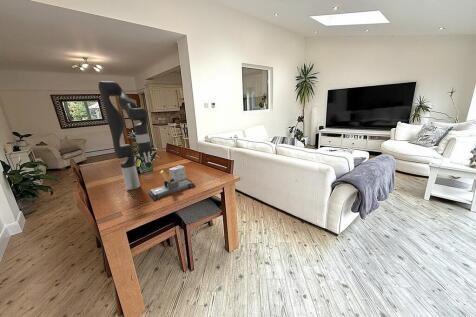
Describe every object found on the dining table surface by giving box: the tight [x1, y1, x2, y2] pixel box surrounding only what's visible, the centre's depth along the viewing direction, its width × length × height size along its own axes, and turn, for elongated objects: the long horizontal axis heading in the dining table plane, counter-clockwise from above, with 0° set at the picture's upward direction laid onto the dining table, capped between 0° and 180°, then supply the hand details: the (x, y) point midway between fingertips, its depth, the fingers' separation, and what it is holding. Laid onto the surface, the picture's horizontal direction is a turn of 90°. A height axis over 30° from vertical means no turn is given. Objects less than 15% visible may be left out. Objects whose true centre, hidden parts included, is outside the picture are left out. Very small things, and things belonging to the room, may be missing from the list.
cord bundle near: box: [147, 190, 161, 201], centre depth 129 cm, size 15×4×2 cm, turn 39°
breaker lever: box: [160, 170, 171, 183], centre depth 133 cm, size 4×2×13 cm, turn 39°
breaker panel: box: [149, 178, 192, 198], centre depth 136 cm, size 10×26×7 cm, turn 129°
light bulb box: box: [168, 164, 187, 181], centre depth 153 cm, size 11×7×11 cm, turn 145°
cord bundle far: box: [187, 179, 196, 189], centre depth 144 cm, size 15×4×2 cm, turn 39°
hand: (148, 167), depth 124 cm, fingers closed
